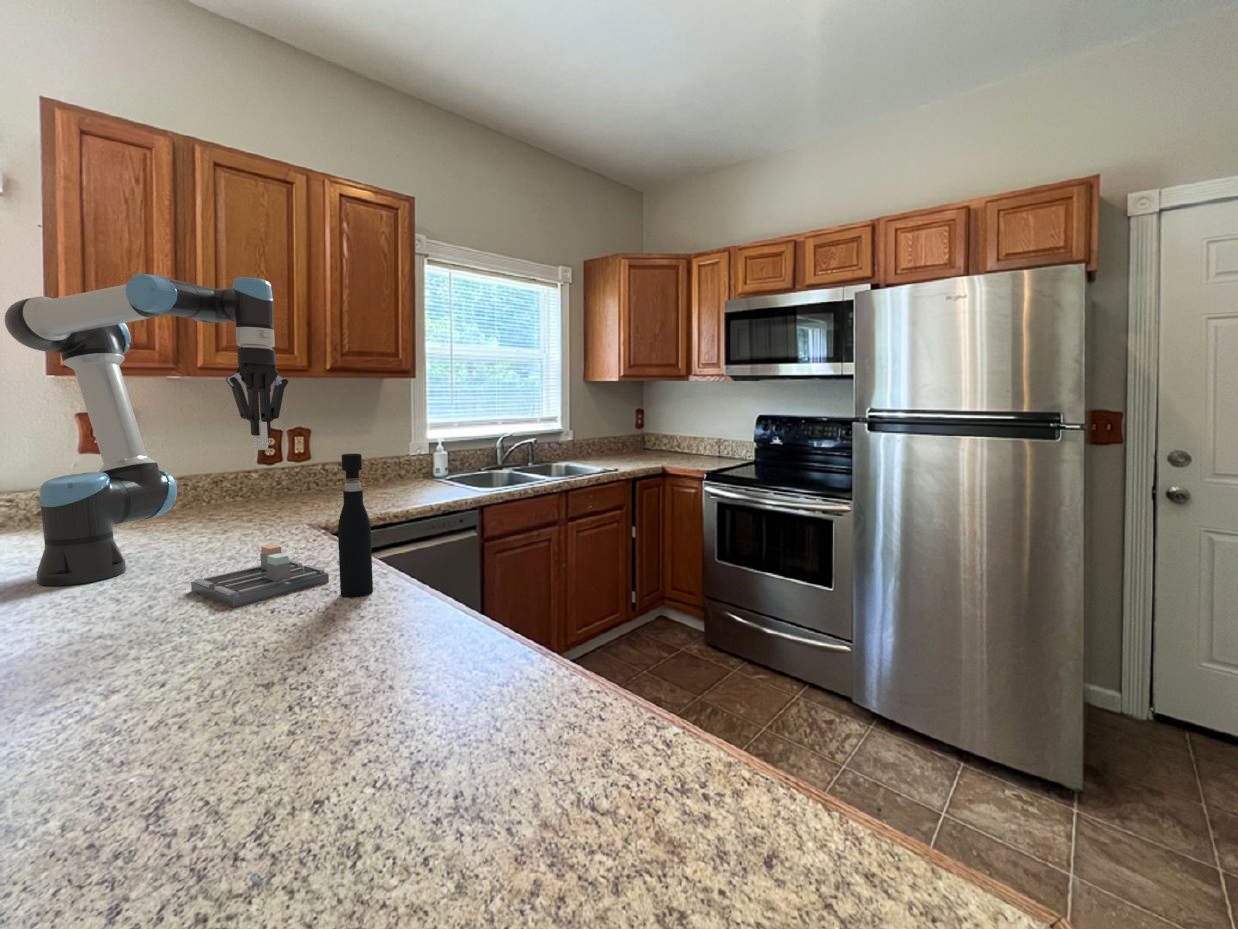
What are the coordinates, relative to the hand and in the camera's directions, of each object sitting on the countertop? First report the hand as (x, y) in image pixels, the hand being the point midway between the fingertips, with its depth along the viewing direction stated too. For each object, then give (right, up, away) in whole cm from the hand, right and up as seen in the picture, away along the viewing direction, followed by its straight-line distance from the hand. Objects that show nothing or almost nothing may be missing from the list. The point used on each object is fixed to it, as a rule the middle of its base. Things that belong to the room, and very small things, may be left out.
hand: (262, 449), depth 137 cm
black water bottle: (+28, -31, -12) cm, 44 cm away
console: (+5, -31, -8) cm, 32 cm away
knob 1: (+4, -28, -2) cm, 28 cm away
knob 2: (+10, -29, -10) cm, 32 cm away
